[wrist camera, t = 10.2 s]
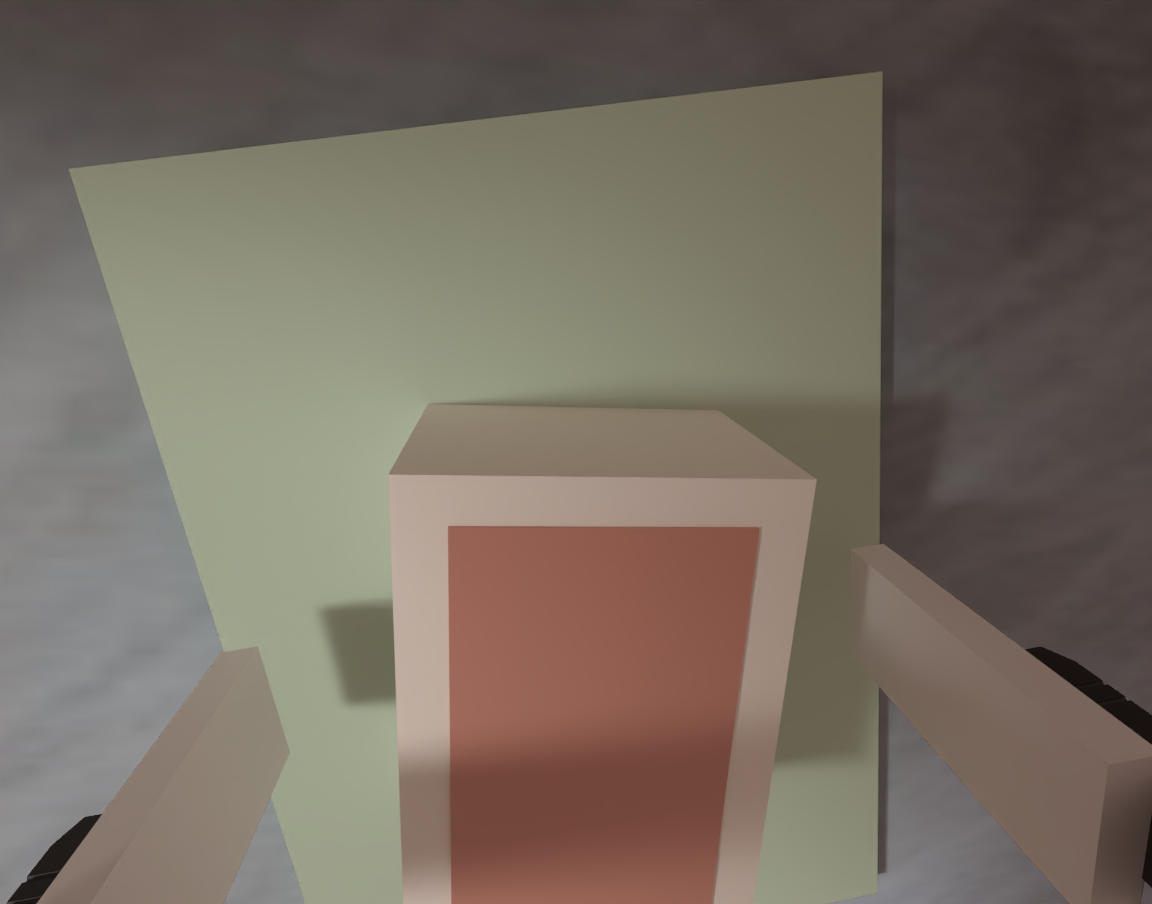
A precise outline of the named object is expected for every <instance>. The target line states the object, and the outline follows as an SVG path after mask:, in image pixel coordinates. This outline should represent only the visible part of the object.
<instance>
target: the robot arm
mask: <svg viewBox="0 0 1152 904" xmlns="http://www.w3.org/2000/svg"><path fill="white" fill-rule="evenodd" d="M851 640H852V656H853V657H854V658H855V660H856V661H857V662H858V663H859V664H860V665H861V666H862V668H863V669H864V670H865V671H866V672H867V673H868V674H869V676H870V677H871V678H872V679H873V680H874V681H875V682H876V684H877V685H878V686H879V687H880V688H881V689H882V690H883V692H884V693H885V694H886V695H887V696H888V697H889V698H890V700H891V701H892V702H893V703H894V704H895V705H896V706H897V708H898V709H899V710H900V711H901V712H902V713H903V714H904V716H905V717H906V718H907V719H908V720H909V721H910V722H911V724H912V725H913V726H914V727H915V728H916V729H917V730H918V732H919V733H920V734H921V735H922V736H923V737H924V738H925V740H926V741H927V742H928V743H929V744H930V745H931V746H932V748H933V749H934V750H935V751H936V752H937V753H938V754H939V756H940V757H941V758H942V759H943V760H944V761H945V762H946V764H947V765H948V766H949V767H950V768H951V769H952V770H953V772H954V773H955V774H956V775H957V776H958V777H959V778H960V780H961V781H962V782H963V783H964V784H965V785H966V786H967V788H968V789H969V790H970V791H971V792H972V793H973V794H974V796H975V797H976V798H977V799H978V800H979V801H980V802H981V804H982V805H983V806H984V807H985V808H986V809H987V811H988V812H989V813H990V814H991V815H992V816H993V817H994V819H995V820H996V821H997V822H998V823H999V824H1000V825H1001V827H1002V828H1003V829H1004V830H1005V831H1006V832H1007V833H1008V835H1009V836H1010V837H1011V838H1012V839H1013V840H1014V841H1015V843H1016V844H1017V845H1018V846H1019V847H1020V848H1021V849H1022V851H1023V852H1024V853H1025V854H1026V855H1027V856H1028V857H1029V859H1030V860H1031V861H1032V862H1033V863H1034V864H1035V865H1036V867H1037V868H1038V869H1039V870H1040V871H1041V872H1042V873H1043V875H1044V876H1045V877H1046V878H1047V879H1048V880H1049V881H1050V883H1051V884H1052V885H1053V886H1054V887H1055V888H1056V889H1057V891H1058V892H1059V893H1060V894H1061V895H1062V896H1063V897H1064V899H1065V900H1066V901H1067V902H1068V903H1069V904H1141V898H1142V892H1143V885H1144V881H1145V882H1146V883H1147V884H1148V885H1150V886H1151V887H1152V715H1151V714H1149V713H1148V712H1146V711H1145V710H1144V709H1142V708H1141V707H1139V706H1138V705H1136V704H1135V703H1134V702H1132V701H1127V700H1126V699H1125V696H1124V695H1122V694H1121V693H1119V692H1118V691H1117V690H1115V689H1114V688H1112V687H1111V686H1109V685H1108V684H1107V685H1104V684H1103V682H1102V680H1101V679H1100V678H1098V677H1097V676H1095V675H1094V674H1092V673H1091V672H1090V671H1088V670H1087V669H1085V668H1084V667H1082V666H1081V665H1080V664H1078V663H1077V662H1075V661H1073V660H1071V659H1069V658H1066V657H1064V656H1061V655H1059V654H1057V653H1054V652H1052V651H1050V650H1047V649H1045V648H1043V647H1036V648H1030V649H1023V648H1022V647H1021V646H1019V645H1018V644H1017V643H1015V642H1014V641H1013V640H1011V639H1010V638H1009V637H1007V636H1006V635H1005V634H1003V633H1002V632H1001V631H999V630H998V629H997V628H995V627H994V626H993V625H991V624H990V623H989V622H987V621H986V620H985V619H983V618H982V617H981V616H979V615H978V614H977V613H975V612H974V611H973V610H971V609H970V608H969V607H967V606H966V605H965V604H963V603H962V602H961V601H959V600H958V599H957V598H955V597H954V596H953V595H951V594H950V593H949V592H947V591H946V590H945V589H943V588H942V587H941V586H939V585H938V584H937V583H935V582H934V581H933V580H931V579H930V578H929V577H927V576H926V575H925V574H923V573H922V572H921V571H919V570H918V569H917V568H915V567H914V566H913V565H911V564H910V563H909V562H907V561H906V560H905V559H903V558H902V557H901V556H899V555H898V554H897V553H895V552H894V551H893V550H891V549H890V548H889V547H887V546H886V545H885V544H879V545H873V546H867V547H861V548H855V549H851ZM289 754H290V750H289V747H288V744H287V741H286V737H285V734H284V731H283V727H282V724H281V721H280V718H279V714H278V711H277V708H276V705H275V701H274V698H273V695H272V691H271V688H270V685H269V682H268V678H267V675H266V672H265V668H264V665H263V662H262V659H261V655H260V652H259V649H258V646H257V647H251V648H244V649H238V650H232V651H226V652H221V653H220V654H219V656H218V657H217V658H216V660H215V661H214V663H213V664H212V665H211V667H210V668H209V669H208V671H207V672H206V673H205V675H204V676H203V678H202V679H201V680H200V682H199V683H198V684H197V686H196V687H195V688H194V690H193V691H192V693H191V694H190V695H189V697H188V698H187V699H186V701H185V702H184V703H183V705H182V706H181V708H180V709H179V710H178V712H177V713H176V714H175V716H174V717H173V718H172V720H171V721H170V723H169V724H168V725H167V727H166V728H165V729H164V731H163V732H162V733H161V735H160V736H159V738H158V739H157V740H156V742H155V743H154V744H153V746H152V747H151V748H150V750H149V751H148V753H147V754H146V755H145V757H144V758H143V759H142V761H141V762H140V763H139V765H138V766H137V768H136V769H135V770H134V772H133V773H132V774H131V776H130V777H129V778H128V780H127V781H126V782H125V784H124V785H123V787H122V788H121V789H120V791H119V792H118V793H117V795H116V796H115V797H114V799H113V800H112V802H111V803H110V804H109V806H108V807H107V808H106V810H105V811H104V812H103V814H100V815H94V816H88V817H84V818H83V819H82V820H81V821H80V822H78V823H77V824H76V825H75V826H74V827H73V828H71V829H70V830H69V831H68V832H67V833H66V834H64V835H63V836H62V837H61V838H60V839H59V840H57V841H56V842H55V843H54V844H53V845H52V846H51V847H50V848H49V849H48V851H47V852H46V853H45V854H44V856H43V857H42V858H41V860H40V861H39V862H38V863H37V865H36V866H35V867H34V869H33V870H32V871H31V872H30V874H29V875H28V876H27V881H26V882H25V883H22V884H21V885H20V886H19V888H18V889H17V890H16V892H15V893H14V894H13V895H12V897H11V898H10V899H9V901H8V902H7V904H223V903H224V901H225V899H226V897H227V894H228V892H229V890H230V888H231V885H232V883H233V881H234V879H235V876H236V874H237V872H238V869H239V867H240V865H241V863H242V860H243V858H244V856H245V854H246V851H247V849H248V847H249V845H250V842H251V840H252V838H253V836H254V833H255V831H256V829H257V827H258V824H259V822H260V820H261V818H262V815H263V813H264V811H265V808H266V806H267V804H268V802H269V799H270V797H271V795H272V793H273V790H274V788H275V786H276V784H277V781H278V779H279V777H280V775H281V772H282V770H283V768H284V766H285V763H286V761H287V759H288V757H289Z"/></svg>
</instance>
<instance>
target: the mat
mask: <svg viewBox="0 0 1152 904" xmlns="http://www.w3.org/2000/svg"><path fill="white" fill-rule="evenodd" d="M882 80H883V71H882V72H873V73H865V74H857V75H848V76H840V77H831V78H823V79H815V80H806V81H798V82H790V83H781V84H773V85H764V86H756V87H748V88H739V89H731V90H723V91H714V92H706V93H698V94H689V95H681V96H672V97H664V98H656V99H647V100H639V101H631V102H622V103H614V104H606V105H597V106H589V107H580V108H572V109H564V110H555V111H547V112H539V113H530V114H522V115H513V116H505V117H497V118H488V119H480V120H472V121H463V122H455V123H447V124H438V125H430V126H421V127H413V128H405V129H396V130H388V131H380V132H371V133H363V134H355V135H346V136H338V137H329V138H321V139H313V140H304V141H296V142H288V143H279V144H271V145H262V146H254V147H246V148H237V149H229V150H221V151H212V152H204V153H196V154H187V155H179V156H170V157H162V158H154V159H145V160H137V161H129V162H120V163H112V164H103V165H95V166H87V167H78V168H70V169H69V172H70V175H71V178H72V181H73V185H74V188H75V191H76V194H77V197H78V200H79V203H80V206H81V209H82V212H83V216H84V219H85V222H86V225H87V228H88V231H89V234H90V237H91V240H92V243H93V247H94V250H95V253H96V256H97V259H98V262H99V265H100V268H101V271H102V274H103V278H104V281H105V284H106V287H107V290H108V293H109V296H110V299H111V302H112V305H113V309H114V312H115V315H116V318H117V321H118V324H119V327H120V330H121V333H122V336H123V340H124V343H125V346H126V349H127V352H128V355H129V358H130V361H131V364H132V367H133V370H134V374H135V377H136V380H137V383H138V386H139V389H140V392H141V395H142V398H143V401H144V405H145V408H146V411H147V414H148V417H149V420H150V423H151V426H152V429H153V432H154V436H155V439H156V442H157V445H158V448H159V451H160V454H161V457H162V460H163V463H164V467H165V470H166V473H167V476H168V479H169V482H170V485H171V488H172V491H173V494H174V498H175V501H176V504H177V507H178V510H179V513H180V516H181V519H182V522H183V525H184V529H185V532H186V535H187V538H188V541H189V544H190V547H191V550H192V553H193V556H194V560H195V563H196V566H197V569H198V572H199V575H200V578H201V581H202V584H203V587H204V590H205V594H206V597H207V600H208V603H209V606H210V609H211V612H212V615H213V618H214V621H215V625H216V628H217V631H218V634H219V637H220V640H221V643H222V646H223V649H224V652H226V651H232V650H238V649H244V648H251V647H257V646H258V649H259V652H260V655H261V659H262V662H263V665H264V668H265V672H266V675H267V678H268V682H269V685H270V688H271V691H272V695H273V698H274V701H275V705H276V708H277V711H278V714H279V718H280V721H281V724H282V727H283V731H284V734H285V737H286V741H287V744H288V747H289V750H290V754H289V757H288V759H287V761H286V763H285V766H284V768H283V770H282V772H281V775H280V777H279V779H278V781H277V784H276V786H275V788H274V790H273V793H272V795H271V798H272V801H273V804H274V807H275V810H276V814H277V817H278V820H279V823H280V826H281V829H282V832H283V835H284V838H285V841H286V845H287V848H288V851H289V854H290V857H291V860H292V863H293V866H294V869H295V872H296V876H297V879H298V882H299V885H300V888H301V891H302V894H303V897H304V900H305V903H306V904H403V881H402V853H401V824H400V795H399V767H398V738H397V709H396V681H395V652H394V623H393V595H392V566H391V537H390V509H389V480H388V474H389V472H390V471H391V469H392V467H393V465H394V464H395V462H396V460H397V458H398V456H399V455H400V453H401V451H402V449H403V447H404V446H405V444H406V442H407V440H408V439H409V437H410V435H411V433H412V431H413V430H414V428H415V426H416V424H417V422H418V421H419V419H420V417H421V415H422V414H423V412H424V410H425V408H426V406H427V405H428V404H463V405H507V406H551V407H595V408H640V409H684V410H719V411H720V412H722V413H723V414H725V415H726V416H727V417H729V418H730V419H732V420H733V421H734V422H736V423H737V424H739V425H740V426H742V427H743V428H744V429H746V430H747V431H749V432H750V433H752V434H753V435H754V436H756V437H757V438H759V439H760V440H761V441H763V442H764V443H766V444H767V445H769V446H770V447H771V448H773V449H774V450H776V451H777V452H779V453H780V454H781V455H783V456H784V457H786V458H787V459H788V460H790V461H791V462H793V463H794V464H796V465H797V466H798V467H800V468H801V469H803V470H804V471H806V472H807V473H808V474H810V475H811V476H813V477H814V478H815V479H817V481H816V488H815V494H814V501H813V508H812V514H811V521H810V527H809V534H808V541H807V547H806V554H805V561H804V567H803V574H802V581H801V587H800V594H799V600H798V607H797V614H796V620H795V627H794V634H793V640H792V647H791V653H790V660H789V667H788V673H787V680H786V687H785V693H784V700H783V707H782V713H781V720H780V726H779V733H778V740H777V746H776V753H775V760H774V766H773V773H772V779H771V786H770V793H769V799H768V806H767V813H766V819H765V826H764V832H763V839H762V846H761V852H760V859H759V866H758V872H757V879H756V886H755V892H754V899H753V904H826V903H831V902H836V901H841V900H847V899H852V898H857V897H862V896H867V895H872V894H877V890H878V728H879V686H878V685H877V684H876V682H875V681H874V680H873V679H872V678H871V677H870V676H869V674H868V673H867V672H866V671H865V670H864V669H863V668H862V666H861V665H860V664H859V663H858V662H857V661H856V660H855V658H854V657H853V656H852V640H851V549H855V548H861V547H867V546H873V545H879V544H880V404H881V242H882Z"/></svg>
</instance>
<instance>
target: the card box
mask: <svg viewBox="0 0 1152 904" xmlns="http://www.w3.org/2000/svg"><path fill="white" fill-rule="evenodd" d="M388 480H389V509H390V537H391V566H392V595H393V623H394V652H395V681H396V709H397V738H398V767H399V795H400V824H401V853H402V881H403V904H753V899H754V892H755V886H756V879H757V872H758V866H759V859H760V852H761V846H762V839H763V832H764V826H765V819H766V813H767V806H768V799H769V793H770V786H771V779H772V773H773V766H774V760H775V753H776V746H777V740H778V733H779V726H780V720H781V713H782V707H783V700H784V693H785V687H786V680H787V673H788V667H789V660H790V653H791V647H792V640H793V634H794V627H795V620H796V614H797V607H798V600H799V594H800V587H801V581H802V574H803V567H804V561H805V554H806V547H807V541H808V534H809V527H810V521H811V514H812V508H813V501H814V494H815V488H816V481H817V479H815V478H814V477H813V476H811V475H810V474H808V473H807V472H806V471H804V470H803V469H801V468H800V467H798V466H797V465H796V464H794V463H793V462H791V461H790V460H788V459H787V458H786V457H784V456H783V455H781V454H780V453H779V452H777V451H776V450H774V449H773V448H771V447H770V446H769V445H767V444H766V443H764V442H763V441H761V440H760V439H759V438H757V437H756V436H754V435H753V434H752V433H750V432H749V431H747V430H746V429H744V428H743V427H742V426H740V425H739V424H737V423H736V422H734V421H733V420H732V419H730V418H729V417H727V416H726V415H725V414H723V413H722V412H720V411H719V410H684V409H640V408H595V407H551V406H507V405H463V404H428V405H427V406H426V408H425V410H424V412H423V414H422V415H421V417H420V419H419V421H418V422H417V424H416V426H415V428H414V430H413V431H412V433H411V435H410V437H409V439H408V440H407V442H406V444H405V446H404V447H403V449H402V451H401V453H400V455H399V456H398V458H397V460H396V462H395V464H394V465H393V467H392V469H391V471H390V472H389V474H388Z"/></svg>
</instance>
